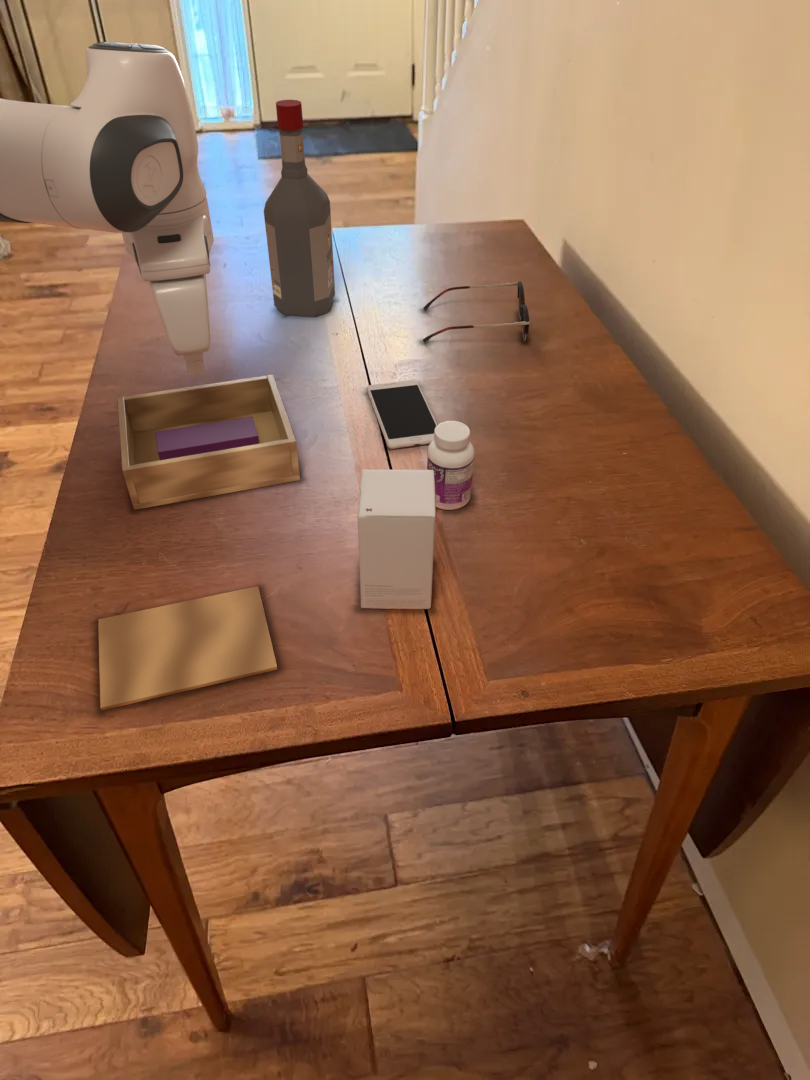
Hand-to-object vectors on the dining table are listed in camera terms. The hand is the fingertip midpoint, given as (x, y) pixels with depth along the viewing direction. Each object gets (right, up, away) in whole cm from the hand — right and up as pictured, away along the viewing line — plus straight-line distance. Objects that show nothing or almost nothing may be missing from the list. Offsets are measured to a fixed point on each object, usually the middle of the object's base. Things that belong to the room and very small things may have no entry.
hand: (192, 351), depth 88 cm
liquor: (+8, +18, +41) cm, 45 cm away
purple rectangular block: (0, -10, +10) cm, 14 cm away
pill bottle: (+29, -16, +5) cm, 34 cm away
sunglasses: (+35, +12, +36) cm, 52 cm away
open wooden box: (0, -11, +10) cm, 15 cm away
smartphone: (+24, -5, +17) cm, 30 cm away
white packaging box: (+23, -26, -6) cm, 35 cm away
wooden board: (+3, -32, -12) cm, 34 cm away
